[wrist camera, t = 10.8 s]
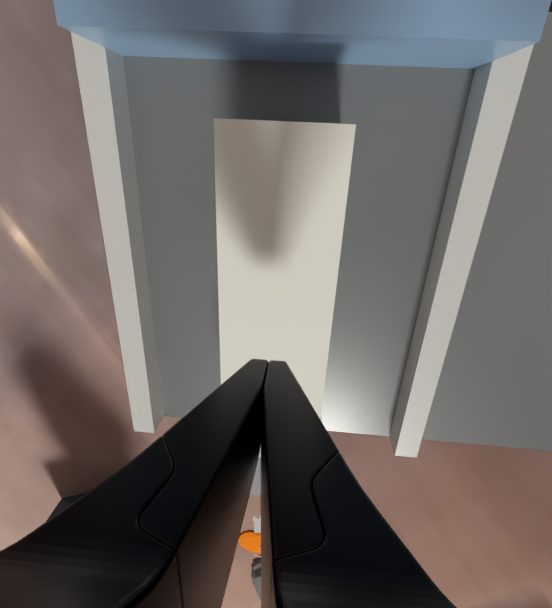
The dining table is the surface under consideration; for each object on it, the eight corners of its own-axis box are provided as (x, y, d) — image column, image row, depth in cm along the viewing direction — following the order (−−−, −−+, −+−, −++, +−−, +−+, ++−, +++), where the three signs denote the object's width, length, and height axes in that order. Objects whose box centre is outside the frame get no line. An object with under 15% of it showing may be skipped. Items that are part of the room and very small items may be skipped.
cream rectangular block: (315, 420, 18) (318, 500, 14) (236, 413, 18) (216, 490, 14) (349, 129, 12) (368, 124, 8) (234, 124, 13) (201, 117, 9)
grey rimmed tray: (665, 453, 18) (758, 535, 14) (148, 407, 19) (110, 470, 15) (952, 28, 11) (1290, -29, 7) (95, 3, 12) (2, -56, 8)
